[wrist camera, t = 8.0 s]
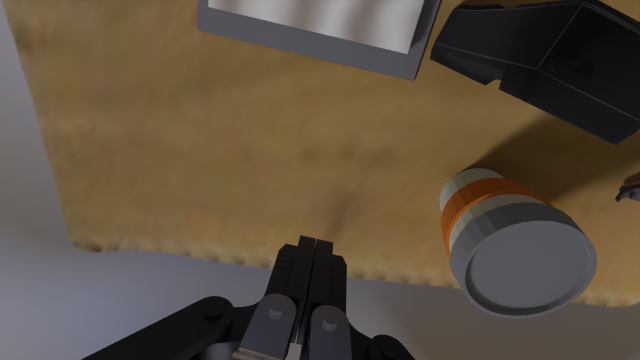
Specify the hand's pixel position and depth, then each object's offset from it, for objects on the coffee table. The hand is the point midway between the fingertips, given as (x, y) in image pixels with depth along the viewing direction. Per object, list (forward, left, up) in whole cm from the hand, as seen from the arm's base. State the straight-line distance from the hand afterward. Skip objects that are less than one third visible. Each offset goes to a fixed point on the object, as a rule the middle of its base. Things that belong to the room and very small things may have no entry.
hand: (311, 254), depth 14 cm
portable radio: (-13, -10, -29) cm, 33 cm away
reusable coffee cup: (-21, +8, -29) cm, 37 cm away
